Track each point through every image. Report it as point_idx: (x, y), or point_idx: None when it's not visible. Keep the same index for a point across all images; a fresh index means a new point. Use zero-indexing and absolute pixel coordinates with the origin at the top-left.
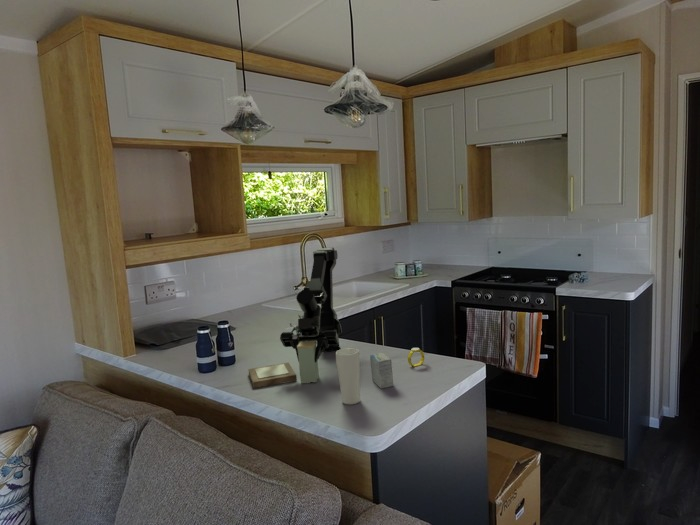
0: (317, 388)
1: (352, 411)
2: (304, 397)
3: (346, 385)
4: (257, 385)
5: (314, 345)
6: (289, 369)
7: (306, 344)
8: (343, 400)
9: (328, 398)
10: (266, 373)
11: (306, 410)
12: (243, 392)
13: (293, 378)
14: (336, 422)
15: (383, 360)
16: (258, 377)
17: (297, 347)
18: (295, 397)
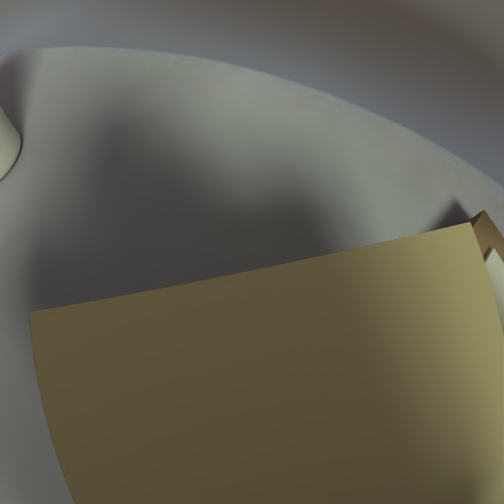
0: (146, 264)
1: (6, 109)
2: (177, 148)
3: None
4: None
5: (90, 482)
6: None
7: (311, 444)
8: (14, 127)
9: (68, 162)
10: (501, 318)
11: (135, 70)
12: (466, 179)
13: None
14: (49, 56)
15: None
16: (499, 256)
17: (445, 231)
18: (223, 142)
